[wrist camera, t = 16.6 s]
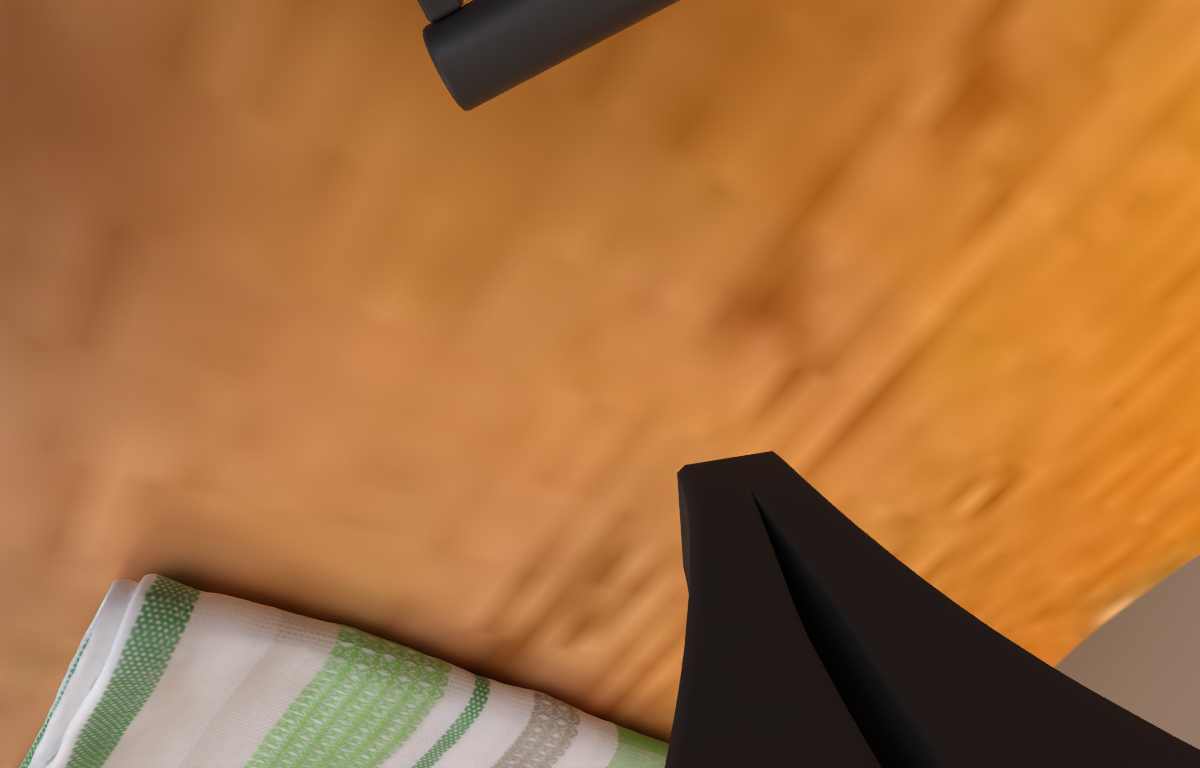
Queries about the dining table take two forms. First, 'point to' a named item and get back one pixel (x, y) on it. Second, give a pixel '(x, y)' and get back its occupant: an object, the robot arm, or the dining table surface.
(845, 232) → the dining table surface
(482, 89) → the drawer
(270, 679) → the dish towel
